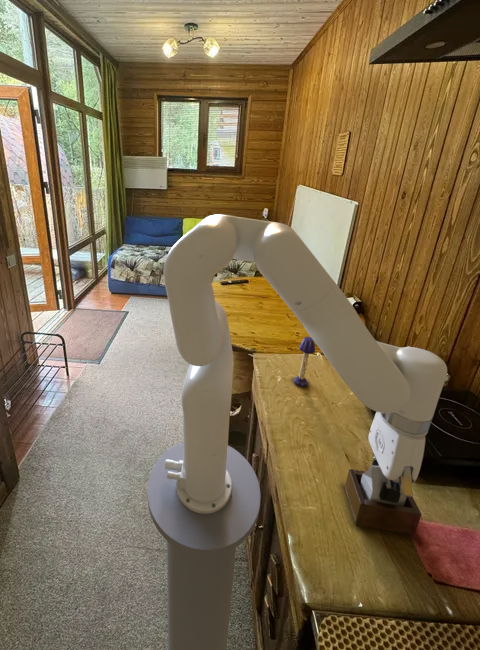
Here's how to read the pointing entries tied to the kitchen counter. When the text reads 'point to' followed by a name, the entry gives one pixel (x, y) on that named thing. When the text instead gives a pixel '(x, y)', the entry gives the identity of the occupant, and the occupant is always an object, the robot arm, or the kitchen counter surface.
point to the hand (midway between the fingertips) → (383, 487)
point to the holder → (380, 509)
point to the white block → (376, 485)
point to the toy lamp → (304, 360)
